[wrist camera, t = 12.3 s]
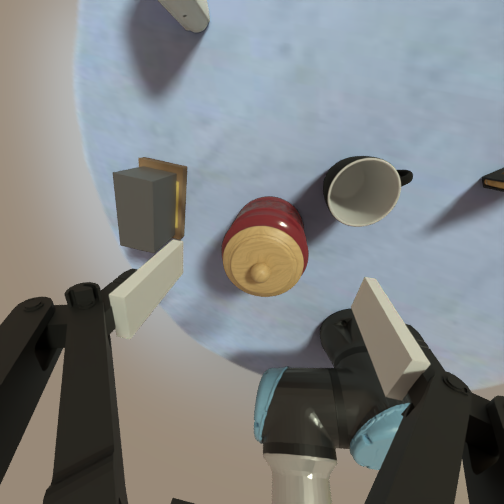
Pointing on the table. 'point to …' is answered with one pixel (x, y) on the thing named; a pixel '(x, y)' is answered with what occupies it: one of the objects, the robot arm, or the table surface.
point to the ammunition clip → (494, 180)
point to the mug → (363, 189)
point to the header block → (180, 189)
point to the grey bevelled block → (145, 207)
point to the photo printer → (189, 13)
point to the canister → (265, 247)
